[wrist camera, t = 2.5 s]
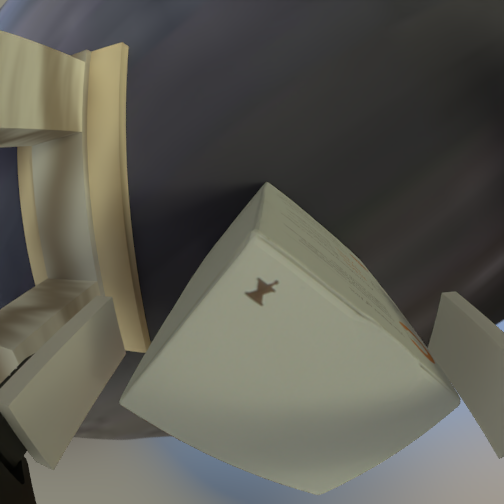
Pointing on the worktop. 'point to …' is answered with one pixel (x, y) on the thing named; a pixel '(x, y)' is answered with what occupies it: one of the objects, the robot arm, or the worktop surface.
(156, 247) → the worktop surface
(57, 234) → the cream u-shaped bracket
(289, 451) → the small box
